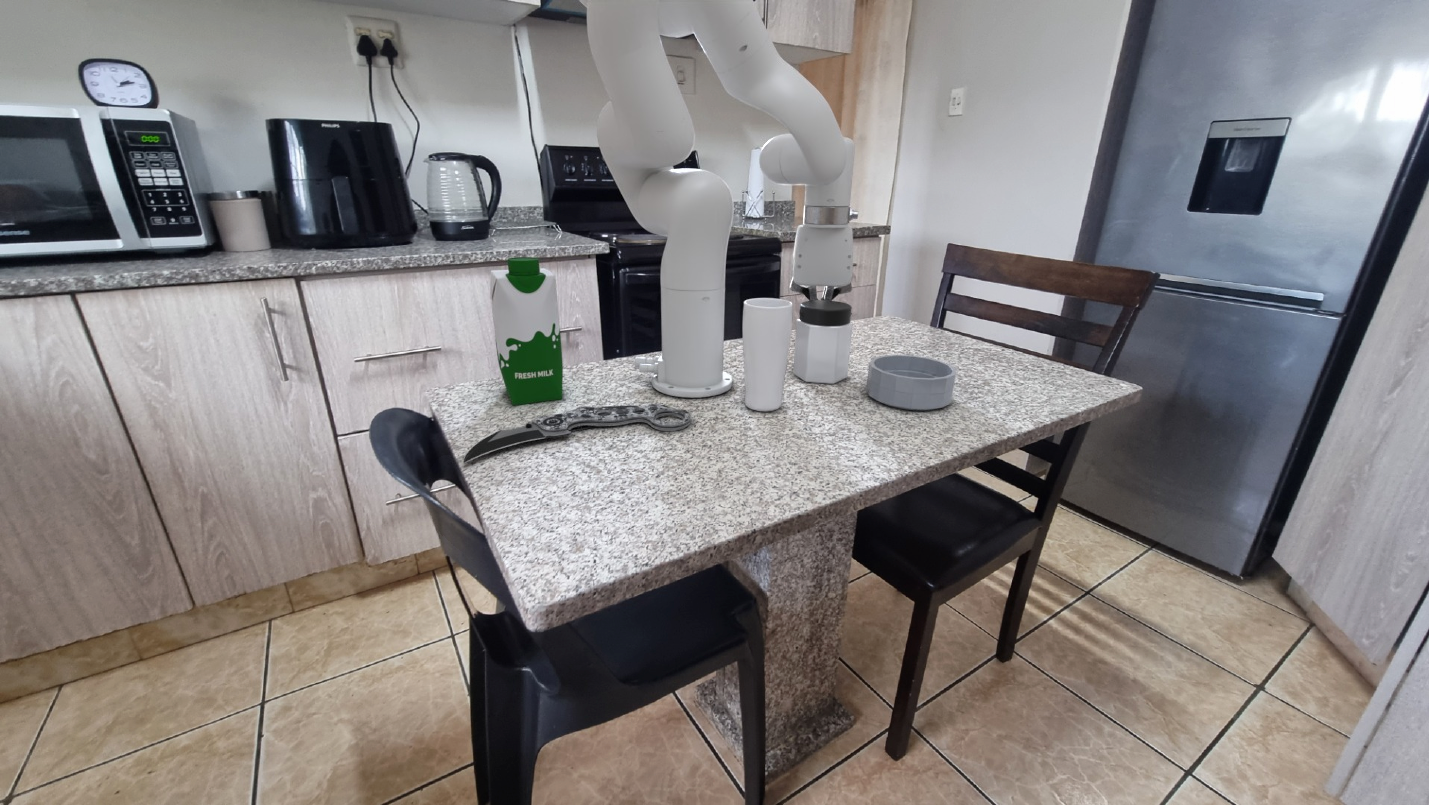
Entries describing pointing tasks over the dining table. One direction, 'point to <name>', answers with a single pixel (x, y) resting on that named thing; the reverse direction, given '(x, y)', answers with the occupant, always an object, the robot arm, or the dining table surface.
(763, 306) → the drinking glass
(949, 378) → the bowl
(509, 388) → the milk carton
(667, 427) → the knife
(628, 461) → the dining table surface
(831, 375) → the jar
